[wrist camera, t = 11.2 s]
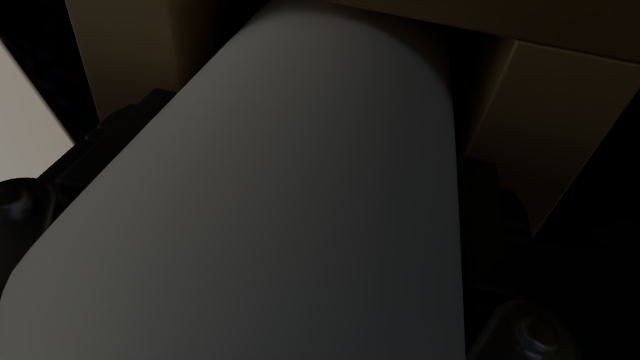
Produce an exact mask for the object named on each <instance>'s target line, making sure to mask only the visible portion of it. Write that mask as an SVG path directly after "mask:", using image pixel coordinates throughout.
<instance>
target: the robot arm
mask: <svg viewBox="0 0 640 360" xmlns="http://www.w3.org/2000/svg"><path fill="white" fill-rule="evenodd" d="M177 93H178V92H173V91H169V90H164V89H160V88H156V89H154V90H152V91H151V92H150V93H149V94H148V95H147V96H146V97H145V98H144V99H142V100H141V101H140V102H139V103H138V104H133V103H132V104H130V105H128V106H126V107H123V108H121V109H119V110H117V111H114V112H112V113H111V114H110V115H109V116H107V117H106V118H105V119H104V120H103V121H102V122H101V123H99V124H98V125H97V128H94V129H93V130H91V131H90V132H89V133H88V134H87V135H86V136H85V139H81V140H80V141H79V142H78V143H77V144H75V145H74V146H73V147H72V148H71V149H70V150H69V151H67V152H66V153H65V154H64V155H63V156H62V157H61V158H60V159H58V160H57V161H56V162H55V163H54V164H53V165H51V166H50V167H49V168H48V169H47V170H46V171H45V172H43V174H41V175H40V176H39V177H38V178H16V179H9V180H6V181H2V182H0V300H1V297H2V293H3V290H4V288H5V286H6V284H7V281H8V279H9V277H10V275H11V273H12V271H13V270H14V269H15V267H16V266H17V265H18V263H19V262H20V261H21V259H22V258H23V257H24V256H25V254H26V253H27V252H28V250H29V249H30V248H31V247H32V246H33V245H34V243H35V242H36V241H37V240H38V239H39V238H40V237H41V236H42V235H43V234H44V232H45V231H46V230H47V229H48V228H49V227H50V226H51V225H52V224H53V223H54V221H55V220H56V219H57V218H58V217H59V216H60V215H61V214H62V213H63V212H64V211H65V210H66V209H67V207H68V206H69V205H70V204H71V203H72V202H73V201H74V200H75V199H76V198H77V197H78V196H79V195H80V194H81V193H82V192H83V191H84V190H85V189H86V188H87V187H88V186H89V184H90V183H91V182H92V181H93V180H94V179H95V178H96V177H97V176H98V175H99V174H100V173H101V172H102V171H103V170H104V169H105V168H106V167H107V166H108V165H109V164H110V163H111V161H112V160H113V159H114V158H115V157H116V156H117V155H118V154H119V153H120V152H121V151H122V150H123V149H124V148H125V147H126V146H127V145H128V144H129V143H130V142H131V141H132V140H133V139H134V138H135V137H136V136H137V135H138V134H139V133H140V132H141V131H142V129H143V128H144V127H145V126H146V125H147V124H148V123H149V122H150V121H151V120H152V119H153V118H154V117H155V116H156V115H157V114H158V113H159V112H160V111H161V110H162V109H163V108H164V107H165V106H166V105H167V104H168V103H169V102H170V101H171V100H172V99H173V98H174V97H175V96H176V95H177ZM456 164H457V183H458V203H459V223H460V244H461V266H462V287H463V310H464V335H465V360H594V359H592V358H591V357H589V356H588V355H586V354H585V353H583V352H582V351H580V347H579V345H578V342H577V340H576V338H575V336H574V334H573V333H572V332H571V330H570V329H569V327H568V326H567V325H566V324H565V323H564V322H563V321H562V320H561V319H560V318H559V317H558V316H557V315H555V314H554V313H553V312H551V311H550V310H549V307H548V303H547V299H546V294H545V290H544V285H543V281H542V277H541V272H540V268H539V263H538V259H537V255H536V250H535V247H533V244H534V241H533V237H532V233H531V231H530V224H529V220H528V215H527V211H526V208H525V207H524V205H523V204H522V202H521V201H520V200H519V198H518V197H517V195H516V194H515V193H514V191H513V190H509V189H504V188H500V187H499V181H498V175H497V169H496V165H495V164H494V163H490V162H485V161H481V160H476V159H472V158H467V157H463V156H461V157H460V158H459V159H458V161H457V162H456Z"/></svg>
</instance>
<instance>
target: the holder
mask: <svg viewBox="0 0 640 360" xmlns="http://www.w3.org/2000/svg"><path fill="white" fill-rule="evenodd" d="M320 1H325V2H330V3H335V4H340V5H346V6H351V7H356V8H361V9H366V10H371V11H376V12H381V13H386V14H392V15H397V16H402V17H407V18H412V19H417V20H422V21H427V22H432V23H438V24H443V25H448V26H453V27H458V28H463V29H468V30H473V32H472V34H471V37H470V40H469V42H468V45H467V48H466V50H465V53H464V56H463V59H462V61H461V64H460V67H459V69H458V72H457V75H456V77H455V80H454V83H453V86H452V91H453V108H454V126H455V145H456V162H457V161H458V159H459V158H460V157H461V156H463V157H467V158H472V159H476V160H481V161H485V162H490V163H494V164H495V165H496V169H497V175H498V181H499V187H500V188H504V189H509V190H513V191H514V193H515V194H516V195H517V197H518V198H519V200H520V201H521V202H522V204H523V205H524V207H525V208H526V211H527V215H528V220H529V224H530V231H531V233H532V237H534V235H535V234H536V233H537V231H538V230H539V228H540V227H541V226H542V224H543V223H544V221H545V220H546V218H547V217H548V216H549V214H550V213H551V211H552V210H553V209H554V207H555V206H556V204H557V203H558V202H559V200H560V199H561V197H562V196H563V195H564V193H565V192H566V190H567V189H568V188H569V186H570V185H571V183H572V182H573V181H574V179H575V178H576V176H577V175H578V174H579V172H580V171H581V169H582V168H583V167H584V165H585V164H586V162H587V161H588V160H589V158H590V157H591V155H592V154H593V153H594V151H595V150H596V148H597V147H598V146H599V144H600V143H601V141H602V140H603V139H604V137H605V136H606V134H607V133H608V132H609V130H610V129H611V127H612V126H613V125H614V123H615V122H616V120H617V119H618V118H619V116H620V115H621V113H622V112H623V111H624V109H625V108H626V106H627V105H628V104H629V102H630V101H631V99H632V98H633V97H634V95H635V94H636V92H637V91H638V90H639V88H640V0H320ZM65 2H66V6H67V9H68V13H69V16H70V19H71V23H72V26H73V30H74V33H75V37H76V40H77V44H78V47H79V50H80V54H81V57H82V61H83V64H84V68H85V71H86V75H87V78H88V81H89V85H90V88H91V92H92V95H93V99H94V102H95V106H96V109H97V112H98V116H99V119H100V123H101V122H102V121H103V120H104V119H105V118H106V117H107V116H109V115H110V114H111V113H112V112H114V111H117V110H119V109H121V108H123V107H126V106H128V105H130V104H132V103H133V104H138V103H139V102H140V101H141V100H142V99H144V98H145V97H146V96H147V95H148V94H149V93H150V92H151V91H152V90H154V89H156V88H160V89H164V90H169V91H173V92H179V91H180V90H181V89H182V88H183V87H184V86H185V85H186V84H187V83H188V82H189V81H190V80H191V79H192V78H193V77H194V76H195V75H196V74H197V73H198V72H199V71H200V70H201V69H202V68H203V67H204V66H205V65H206V64H207V63H208V62H209V61H210V60H211V59H212V58H213V57H214V56H215V55H216V54H217V53H218V52H219V51H220V50H221V48H222V47H223V46H224V45H225V44H226V43H227V42H228V41H229V40H230V39H231V38H232V37H233V36H234V35H235V34H236V33H237V32H238V31H239V30H240V29H241V28H242V0H65Z"/></svg>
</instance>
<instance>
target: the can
mask: <svg viewBox="0 0 640 360" xmlns="http://www.w3.org/2000/svg"><path fill="white" fill-rule="evenodd" d="M0 360H465V335H464V310H463V287H462V266H461V244H460V223H459V203H458V183H457V164H456V145H455V126H454V108H453V91H452V76H451V64H450V55H449V50H448V45H447V42H446V38H445V35H444V33H443V30H442V28H441V26H440V24H438V23H432V22H427V21H422V20H417V19H412V18H407V17H402V16H397V15H392V14H386V13H381V12H376V11H371V10H366V9H361V8H356V7H351V6H346V5H340V4H335V3H330V2H325V1H320V0H269V1H268V2H267V3H266V4H265V5H264V6H263V7H262V8H261V9H260V10H259V11H258V12H257V13H256V14H255V15H254V16H253V17H252V18H251V19H250V20H249V21H248V22H247V23H246V24H245V25H244V26H243V27H242V28H241V29H240V30H239V31H238V32H237V33H236V34H235V35H234V36H233V37H232V38H231V39H230V40H229V41H228V42H227V43H226V44H225V45H224V46H223V47H222V48H221V50H220V51H219V52H218V53H217V54H216V55H215V56H214V57H213V58H212V59H211V60H210V61H209V62H208V63H207V64H206V65H205V66H204V67H203V68H202V69H201V70H200V71H199V72H198V73H197V74H196V75H195V76H194V77H193V78H192V79H191V80H190V81H189V82H188V83H187V84H186V85H185V86H184V87H183V88H182V89H181V90H180V91H179V92H178V93H177V95H176V96H175V97H174V98H173V99H172V100H171V101H170V102H169V103H168V104H167V105H166V106H165V107H164V108H163V109H162V110H161V111H160V112H159V113H158V114H157V115H156V116H155V117H154V118H153V119H152V120H151V121H150V122H149V123H148V124H147V125H146V126H145V127H144V128H143V129H142V131H141V132H140V133H139V134H138V135H137V136H136V137H135V138H134V139H133V140H132V141H131V142H130V143H129V144H128V145H127V146H126V147H125V148H124V149H123V150H122V151H121V152H120V153H119V154H118V155H117V156H116V157H115V158H114V159H113V160H112V161H111V163H110V164H109V165H108V166H107V167H106V168H105V169H104V170H103V171H102V172H101V173H100V174H99V175H98V176H97V177H96V178H95V179H94V180H93V181H92V182H91V183H90V184H89V186H88V187H87V188H86V189H85V190H84V191H83V192H82V193H81V194H80V195H79V196H78V197H77V198H76V199H75V200H74V201H73V202H72V203H71V204H70V205H69V206H68V207H67V209H66V210H65V211H64V212H63V213H62V214H61V215H60V216H59V217H58V218H57V219H56V220H55V221H54V223H53V224H52V225H51V226H50V227H49V228H48V229H47V230H46V231H45V232H44V234H43V235H42V236H41V237H40V238H39V239H38V240H37V241H36V242H35V243H34V245H33V246H32V247H31V248H30V249H29V250H28V252H27V253H26V254H25V256H24V257H23V258H22V259H21V261H20V262H19V263H18V265H17V266H16V267H15V269H14V270H13V271H12V273H11V275H10V277H9V279H8V281H7V284H6V286H5V288H4V290H3V293H2V297H1V300H0Z"/></svg>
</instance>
